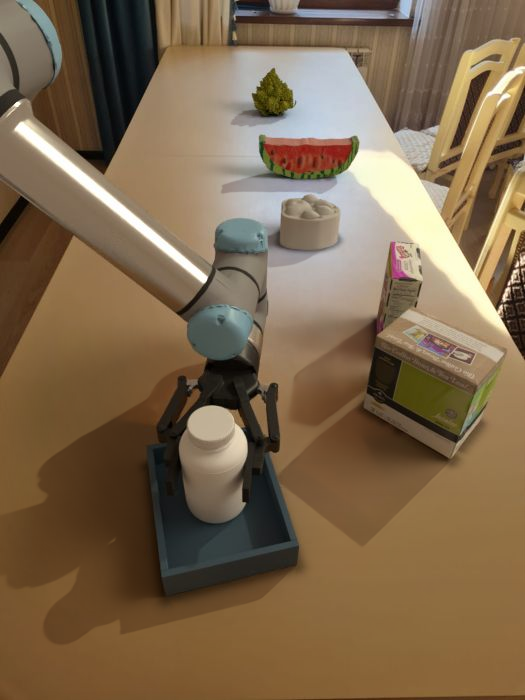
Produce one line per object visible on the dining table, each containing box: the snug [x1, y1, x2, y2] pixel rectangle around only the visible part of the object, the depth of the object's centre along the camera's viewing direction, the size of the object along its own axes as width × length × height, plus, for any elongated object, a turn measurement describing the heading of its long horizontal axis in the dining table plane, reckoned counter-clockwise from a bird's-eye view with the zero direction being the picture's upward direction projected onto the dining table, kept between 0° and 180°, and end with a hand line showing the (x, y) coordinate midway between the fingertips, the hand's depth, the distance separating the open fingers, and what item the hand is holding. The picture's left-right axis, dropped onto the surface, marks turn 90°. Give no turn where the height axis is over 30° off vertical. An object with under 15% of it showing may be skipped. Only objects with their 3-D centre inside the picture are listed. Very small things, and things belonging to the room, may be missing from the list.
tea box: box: [363, 306, 509, 460], centre depth 78 cm, size 15×10×15 cm, turn 48°
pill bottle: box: [179, 406, 247, 524], centre depth 65 cm, size 8×8×15 cm
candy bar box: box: [376, 241, 424, 336], centre depth 91 cm, size 11×5×16 cm, turn 171°
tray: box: [145, 423, 300, 597], centre depth 68 cm, size 19×16×4 cm
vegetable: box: [251, 67, 297, 117], centre depth 184 cm, size 15×16×15 cm
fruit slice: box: [258, 133, 360, 180], centre depth 145 cm, size 26×6×10 cm, turn 91°
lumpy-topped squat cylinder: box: [279, 193, 342, 251], centre depth 119 cm, size 10×13×9 cm
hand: (207, 492), depth 61 cm, fingers closed on pill bottle, 8 cm apart
